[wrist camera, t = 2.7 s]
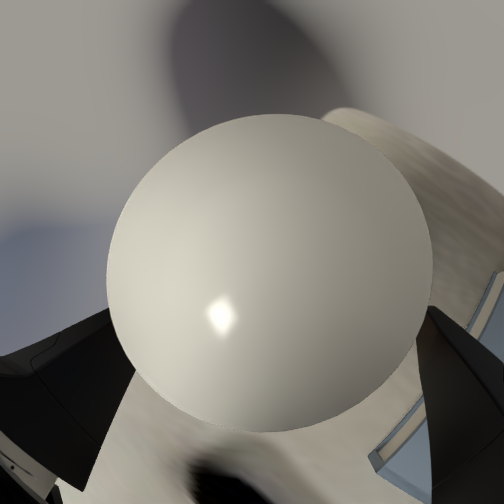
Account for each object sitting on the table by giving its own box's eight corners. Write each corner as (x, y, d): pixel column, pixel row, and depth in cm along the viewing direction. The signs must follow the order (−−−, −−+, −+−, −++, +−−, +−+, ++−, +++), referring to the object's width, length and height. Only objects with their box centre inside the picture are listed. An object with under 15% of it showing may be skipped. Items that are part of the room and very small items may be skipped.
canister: (298, 386, 15) (261, 495, 3) (231, 324, 17) (69, 263, 5) (361, 315, 16) (480, 225, 4) (292, 258, 18) (249, 84, 6)
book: (453, 509, 9) (467, 525, 6) (366, 454, 13) (376, 473, 10) (556, 350, 10) (578, 347, 8) (492, 273, 14) (514, 260, 12)
